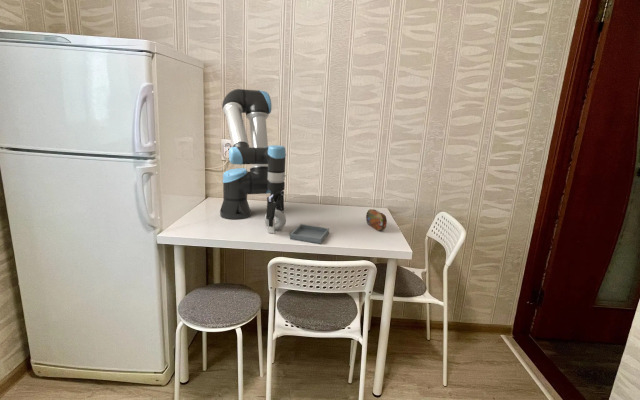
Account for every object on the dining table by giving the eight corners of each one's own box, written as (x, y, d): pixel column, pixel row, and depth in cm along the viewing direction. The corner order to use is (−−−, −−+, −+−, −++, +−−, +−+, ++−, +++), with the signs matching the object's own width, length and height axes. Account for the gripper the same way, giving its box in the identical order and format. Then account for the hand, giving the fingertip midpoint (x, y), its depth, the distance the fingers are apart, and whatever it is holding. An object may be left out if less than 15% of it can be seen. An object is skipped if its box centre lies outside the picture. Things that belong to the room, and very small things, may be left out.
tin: (364, 222, 173) (366, 207, 171) (370, 222, 175) (371, 206, 172) (381, 233, 160) (383, 216, 158) (386, 232, 161) (388, 215, 159)
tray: (289, 239, 146) (290, 234, 146) (300, 229, 159) (300, 224, 159) (320, 244, 143) (320, 239, 142) (328, 233, 156) (328, 228, 155)
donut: (263, 230, 154) (263, 209, 152) (265, 228, 158) (265, 207, 155) (285, 232, 154) (285, 211, 151) (286, 229, 157) (287, 209, 155)
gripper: (274, 186, 139) (273, 238, 145) (292, 177, 158) (290, 224, 164) (258, 184, 141) (257, 236, 147) (277, 176, 160) (276, 221, 166)
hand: (275, 229), depth 156 cm, fingers open, 7 cm apart
